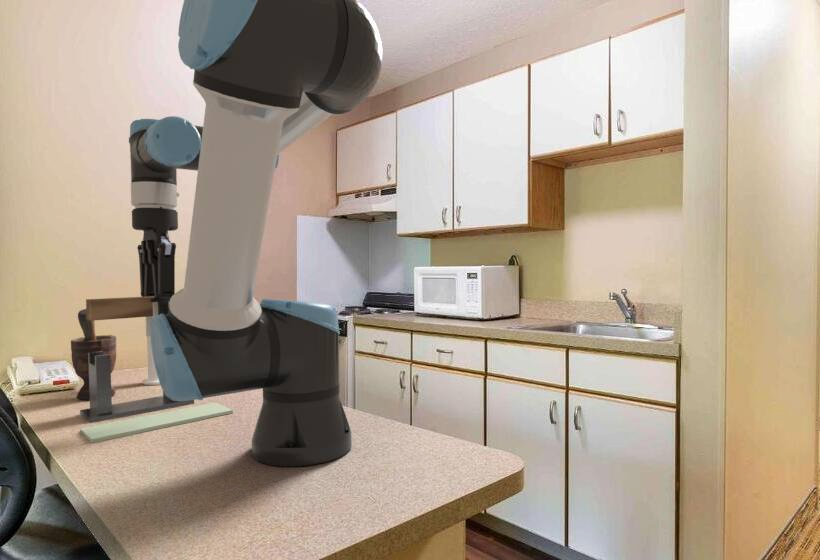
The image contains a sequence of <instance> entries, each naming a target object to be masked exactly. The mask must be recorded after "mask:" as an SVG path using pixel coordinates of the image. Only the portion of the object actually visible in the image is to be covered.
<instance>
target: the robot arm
mask: <svg viewBox="0 0 820 560" xmlns="http://www.w3.org/2000/svg"><path fill="white" fill-rule="evenodd" d="M177 35H178V37H179V40H178V53H179V57H180V60H181V61H182V63H183V64H184V65H185V66H187V67H188V68H189V69H191V70H194V73H193V79H192V85H193V86H194V88H195V89H196V90H197V92H198V93H199V94H200V96H201V97H202V99H203V101H204V103H205V109H204V117H203V125H202V126H200V125H195V124H193V123H192V122H190V121H189V120H187V119H185V118H183V117H181V116H175V115H174V116H165V117H163V118H161V119H155V118H140V119H135V120H133V121H131V123H130V126H129V129H130V130H129V137H128V143H129V152H130V153H129V154H130V155H129V158H130V179H131V181H130V205H131V206H133V207H134V208H133V209H132V210H131V226H132V229H133V230H134V231H135V230H136V231H143V236H142V240H141V242H140V244H138V245H137V252H138V259H139V260H138V261H139V262H138V263H139V279H140V280H139V282H140V283H139V284H140V297H147V296H154V297H155V298H154V299H150V301H151V302H153V316H149V317H145V336H146V338H147V337H149V336H151V346H152V353H153V358H154V363H155V368H156V372H157V376H158V379H159V382H160V385H159V386H160V387H161V389H162V392H163V391H164V393H165V395H166V396H167V397H168V398H170V399H171V400H174V401H187V400H194V401H197V400H198V401H203V400H204V399H206V398H213V397H219V396H225V395H231V394H237V393H244V392H248V391H250V392H251V391H256V390H261V389H262V404H261V408H260V411H259V413H258V414H259V415H258V417H257V422H256V424H255V428H254V431H253V434H252V437H251V455H252V457H253V458H254V459H255V460H256V461H258V462H260V463H263V464H266V465H271V466H278V467H303V466H304V467H305V466H311V465H318V464H321V463H326V462H330V461H333V460H336V459H338V458H340V457H343V456H345V455H346V454H347V453H348V452H349V451H350V450H351V449H352V446H353V445H352V429H351V427H350V424H349V422H348V418H347V416H346V412H345V409H344V406H343V404H342V401H341V397H340V396H341V395H340V345H339V343H340V342H339V341H340V339H339V337H340V334H341V331H340V325H339V317H338V311H337V309H336V308H335V307H334V306H333V305H331V304H328V303H320V302H311V301H310V302H309V301H300V300H288V299H287V300H286V299H276V298H262V300H261V301H260V303H259V302H258V300H257V299H255V297H254V291H255V287H256V286H255V285H256V279H257V273H258V267H259V263H260V256H261V252H262V251H261V250H262V244H263V239H264V233H265V227H266V222H267V216H268V210H269V204H270V199H271V193H272V187H273V182H274V177H275V172H276V169H277V168H278V165H279V161H280V160H279V159H280V154H281V153H282V152H283V151H285V150H287V149H288V148H289V147H290V146H292V145H293V144H294V143H296V142H297V141H298V140H299V139H302V138H303V136H305V135H307V133H309V132H311V131H312V130H314V129H315V128H316V127H317V126H319V125H320V124H321V123H323V122H324V121H325V120H327V119H329V117H330V116H341V115H345V114H347V113H349V112H350V111H352V110H354V109H355V108H356V107H358V106H359V105H360V104H362V102H364V101H365V100H366V99H367V98H368V96H369V95H370V94H371V92H373V90H374V88H375V87H376V85H377V83H378V80H379V78H380V75H381V70H382V65H383V45H382V41H381V40H382V39H381V36H380V33H379V29H378V27H377V24H376V23H375V21H374V19H373V18H372V16H371V14H370V13H369V12H368V10H367V9H366V8H365V6H363V4H362V3H361V2H360V1H358V0H183V4H182V7H181V12H180V17H179V25H178V34H177ZM177 170H186V171H187V170H188V171H197V176H196V185H195V192H194V193H195V194H194V199H193V200H194V201H193V208H192V218H191V225H190V226H191V227H190V235H189V241H188V242H189V244H188V252H187V260H186V268H185V275H184V284H183V288H182V289H179V290H178V291H175V289H176V287H175V286H176V285H175V284H176V283H175V280H176V279H175V278H176V277H175V274H176V273H175V271H176V270H175V265H176V264H175V262H176V261H175V259H176V257H175V255H176V248H177V243H175V242H171V240H170V235H169V232H172V231H177V230H178V228H179V218H178V217H179V216H178V213H179V212H178V211H177V210H175V208H177V206H178V197H180V192H179V191H178V190H177V189H178V187H177V186H178V182H177V181H178V180H177V175H178V174H177ZM169 301H170V302H169Z"/></svg>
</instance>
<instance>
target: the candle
mask: <svg viewBox="0 0 820 560" xmlns="http://www.w3.org/2000/svg"><path fill="white" fill-rule="evenodd" d="M146 342H147V343H146V347H147V348H146V350H147V352H146V353H147V378H144V379H143V380H142V385H144V386H161V385H160V382H159V379H158V376H157V372H156V368H155V363H154V358H153V353H152V346H151V336H149V337H147V336H146Z"/></svg>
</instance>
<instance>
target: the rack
mask: <svg viewBox="0 0 820 560" xmlns="http://www.w3.org/2000/svg"><path fill="white" fill-rule="evenodd" d="M88 360H89V393H90V400H89V408H86V409H85V408H83V409H80V410H79V414H80V416H82V417H83V418H84V420H86V421H87V422H88V423H89V424H91V423H96V422H101V421H105V420H106V421H107V420H112V419H117V418H122V417H123V418H124V417H127V416H128V417H129V416H132V415H133V416H134V415H137V414H138V415H139V414H143V413H150V412H154V411H160V410H166V409H171V408H176V407H181V406H187V405H191V404H195V400H187V401H174V400H171V399H170V398H168V397H167V396H166V395H165V393H164V391H163V390H162V395H161V396H154V397H148V398H142V399H138V400H130V401H125V402H120V403H118V402H117V403H114V404H113V403H112V402H113V401H112V400H113V399H112V397H113V396H111V386H112V373H111V363H110V354H106V355H103V351H99V352H89V353H88Z"/></svg>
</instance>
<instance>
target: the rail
mask: <svg viewBox="0 0 820 560" xmlns="http://www.w3.org/2000/svg"><path fill="white" fill-rule="evenodd" d="M154 298H155V297H154V296H147V297H142V296H133V297H132V296H129V297H109V298H107V297H106V298H86V299H85V309H86V319H87V320H91V321H106V320H117V319H118V320H120V319H133V318H134V319H135V318H146V317H149V316H153V302H151V301H150V299H154ZM169 302H170V301H169Z"/></svg>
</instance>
